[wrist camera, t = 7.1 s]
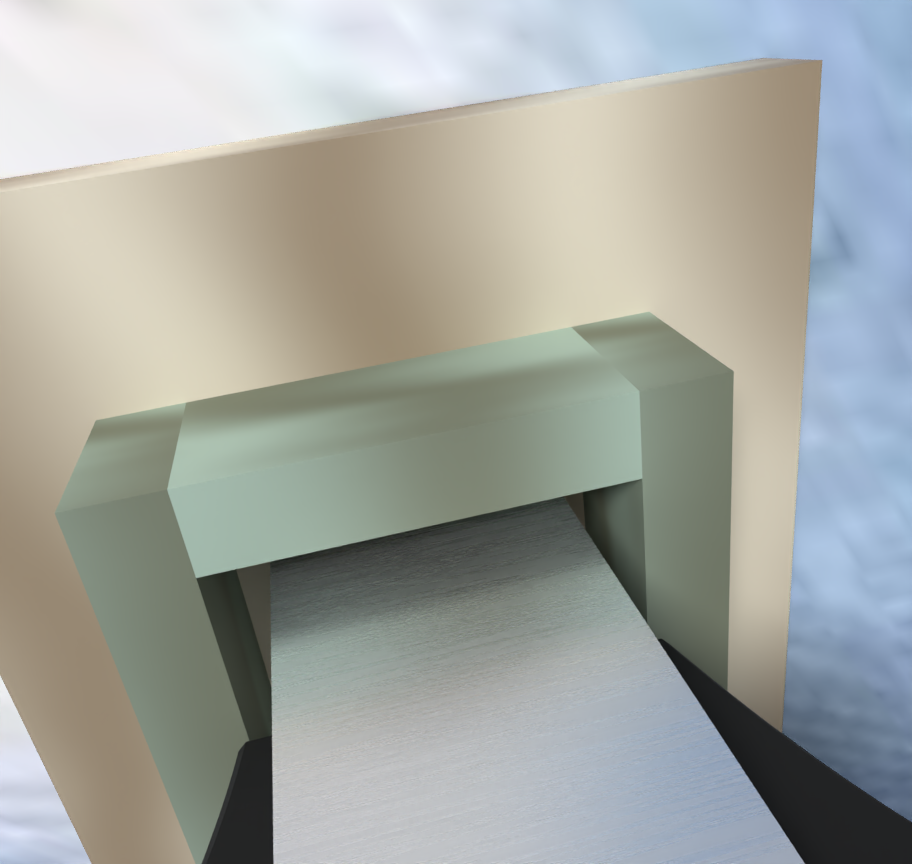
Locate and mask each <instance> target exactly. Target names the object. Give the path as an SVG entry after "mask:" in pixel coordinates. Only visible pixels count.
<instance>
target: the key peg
mask: <svg viewBox="0 0 912 864" xmlns="http://www.w3.org/2000/svg"><path fill="white" fill-rule="evenodd" d="M270 593H271V681H272V770H273V858H274V864H805V863H804V862H803V860H802V859H801V857H800V856H799V854H798V853H797V851H796V850H795V848H794V846H793V845H792V843H791V842H790V840H789V839H788V837H787V836H786V834H785V833H784V831H783V830H782V828H781V827H780V825H779V824H778V822H777V821H776V819H775V818H774V816H773V815H772V813H771V812H770V810H769V808H768V807H767V805H766V804H765V802H764V801H763V799H762V798H761V796H760V795H759V793H758V792H757V790H756V789H755V787H754V786H753V784H752V783H751V781H750V780H749V778H748V777H747V775H746V774H745V772H744V770H743V769H742V767H741V766H740V764H739V763H738V761H737V760H736V758H735V757H734V755H733V754H732V752H731V751H730V749H729V748H728V746H727V745H726V743H725V742H724V740H723V739H722V737H721V735H720V734H719V732H718V731H717V729H716V728H715V726H714V725H713V723H712V722H711V720H710V719H709V717H708V716H707V714H706V713H705V711H704V710H703V708H702V707H701V705H700V704H699V702H698V701H697V699H696V697H695V696H694V694H693V693H692V691H691V690H690V688H689V687H688V685H687V684H686V682H685V681H684V679H683V678H682V676H681V675H680V673H679V672H678V670H677V669H676V667H675V666H674V664H673V663H672V661H671V659H670V658H669V656H668V655H667V653H666V652H665V650H664V649H663V647H662V646H661V644H660V643H659V641H658V640H657V638H656V637H655V635H654V634H653V632H652V631H651V629H650V628H649V626H648V625H647V623H646V621H645V620H644V618H643V617H642V615H641V614H640V612H639V611H638V609H637V608H636V606H635V605H634V603H633V602H632V600H631V599H630V597H629V596H628V594H627V593H626V591H625V590H624V588H623V586H622V585H621V583H620V582H619V580H618V579H617V577H616V576H615V574H614V573H613V571H612V570H611V568H610V567H609V565H608V564H607V562H606V561H605V559H604V558H603V556H602V555H601V553H600V552H599V550H598V548H597V547H596V545H595V544H594V542H593V541H592V539H591V538H590V536H589V535H588V533H587V532H586V530H585V529H584V527H583V526H582V524H581V523H580V521H579V520H578V518H577V517H576V515H575V514H574V512H573V510H572V509H571V507H570V506H569V504H568V503H567V501H566V500H565V498H564V497H563V496H562V497H558V498H553V499H549V500H544V501H540V502H535V503H531V504H526V505H522V506H517V507H513V508H509V509H504V510H500V511H495V512H491V513H486V514H482V515H477V516H473V517H468V518H464V519H459V520H455V521H450V522H446V523H441V524H437V525H432V526H428V527H423V528H419V529H414V530H410V531H405V532H401V533H396V534H392V535H387V536H383V537H378V538H374V539H369V540H365V541H360V542H356V543H351V544H347V545H342V546H338V547H334V548H329V549H325V550H320V551H316V552H311V553H307V554H302V555H298V556H293V557H289V558H284V559H280V560H275V561H271V562H270Z"/></svg>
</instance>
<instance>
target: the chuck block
mask: <svg viewBox="0 0 912 864" xmlns="http://www.w3.org/2000/svg"><path fill="white" fill-rule="evenodd" d="M821 72H822V60H801V59H772V58H761V59H755V60H749V61H743V62H736V63H730V64H724V65H717V66H711V67H705V68H698V69H692V70H686V71H680V72H673V73H667V74H661V75H654V76H648V77H642V78H636V79H629V80H623V81H617V82H610V83H604V84H598V85H591V86H585V87H579V88H573V89H566V90H560V91H554V92H547V93H541V94H535V95H529V96H522V97H516V98H510V99H503V100H497V101H491V102H485V103H478V104H472V105H466V106H459V107H453V108H447V109H440V110H434V111H428V112H422V113H415V114H409V115H403V116H396V117H390V118H384V119H378V120H371V121H365V122H359V123H352V124H346V125H340V126H334V127H327V128H321V129H315V130H308V131H302V132H296V133H289V134H283V135H277V136H271V137H264V138H258V139H252V140H245V141H239V142H233V143H227V144H220V145H214V146H208V147H201V148H195V149H189V150H183V151H176V152H170V153H164V154H157V155H151V156H145V157H138V158H132V159H126V160H120V161H113V162H107V163H101V164H94V165H88V166H82V167H76V168H69V169H63V170H57V171H50V172H44V173H38V174H31V175H25V176H19V177H13V178H6V179H0V675H1V678H2V680H3V682H4V684H5V686H6V688H7V690H8V692H9V694H10V696H11V698H12V700H13V702H14V704H15V706H16V708H17V711H18V713H19V715H20V717H21V719H22V721H23V723H24V725H25V727H26V729H27V731H28V733H29V735H30V737H31V739H32V741H33V744H34V746H35V748H36V750H37V752H38V754H39V756H40V758H41V760H42V762H43V764H44V766H45V768H46V770H47V772H48V774H49V777H50V779H51V781H52V783H53V785H54V787H55V789H56V791H57V793H58V795H59V797H60V799H61V801H62V803H63V805H64V807H65V810H66V812H67V814H68V816H69V818H70V820H71V822H72V824H73V826H74V828H75V830H76V832H77V834H78V836H79V838H80V840H81V843H82V845H83V847H84V849H85V851H86V853H87V855H88V857H89V859H90V861H91V863H92V864H201V863H202V861H203V858H204V856H205V853H206V851H207V848H208V845H209V842H210V839H211V837H212V834H213V831H214V828H215V825H216V823H217V820H218V817H219V814H220V811H221V808H222V805H223V802H224V799H225V796H226V793H227V789H228V786H229V783H230V780H231V776H232V773H233V770H234V766H235V762H236V759H237V755H238V751H239V750H240V749H241V747H242V746H243V745H244V744H245V742H247V741H251V740H255V739H259V738H263V737H267V736H271V735H272V681H271V593H270V562H271V561H275V560H280V559H284V558H289V557H293V556H298V555H302V554H307V553H311V552H316V551H320V550H325V549H329V548H334V547H338V546H342V545H347V544H351V543H356V542H360V541H365V540H369V539H374V538H378V537H383V536H387V535H392V534H396V533H401V532H405V531H410V530H414V529H419V528H423V527H428V526H432V525H437V524H441V523H446V522H450V521H455V520H459V519H464V518H468V517H473V516H477V515H482V514H486V513H491V512H495V511H500V510H504V509H509V508H513V507H517V506H522V505H526V504H531V503H535V502H540V501H544V500H549V499H553V498H558V497H562V496H563V497H564V498H565V500H566V501H567V503H568V504H569V506H570V507H571V509H572V510H573V512H574V514H575V515H576V517H577V518H578V520H579V521H580V523H581V524H582V526H583V527H584V529H585V530H586V532H587V533H588V535H589V536H590V538H591V539H592V541H593V542H594V544H595V545H596V547H597V548H598V550H599V552H600V553H601V555H602V556H603V558H604V559H605V561H606V562H607V564H608V565H609V567H610V568H611V570H612V571H613V573H614V574H615V576H616V577H617V579H618V580H619V582H620V583H621V585H622V586H623V588H624V590H625V591H626V593H627V594H628V596H629V597H630V599H631V600H632V602H633V603H634V605H635V606H636V608H637V609H638V611H639V612H640V614H641V615H642V617H643V618H644V620H645V621H646V623H647V625H648V626H649V628H650V629H651V631H652V632H653V634H654V635H655V637H656V638H657V639H663V640H664V641H666V642H667V643H669V644H670V645H672V646H673V647H674V648H675V649H676V650H678V651H679V652H680V653H681V654H682V655H684V656H685V657H686V658H687V659H689V660H690V661H691V662H692V663H693V664H695V665H696V666H697V667H698V668H700V669H701V670H702V671H703V672H704V673H706V674H707V675H708V676H709V677H711V678H712V679H713V680H714V681H715V682H717V683H718V684H719V685H720V686H722V687H723V688H724V689H725V690H727V691H728V692H729V693H730V694H732V695H733V696H734V697H736V698H737V699H738V700H739V701H741V702H742V703H743V704H744V705H746V706H747V707H748V708H749V709H751V710H752V711H753V712H755V713H756V714H757V715H759V716H760V717H761V718H762V719H764V720H765V721H766V722H768V723H769V724H770V725H772V726H773V727H774V728H776V729H777V730H778V731H780V732H781V733H782V725H783V708H784V691H785V674H786V658H787V641H788V624H789V607H790V591H791V574H792V557H793V540H794V524H795V507H796V490H797V473H798V457H799V440H800V423H801V407H802V390H803V373H804V356H805V340H806V323H807V306H808V289H809V273H810V256H811V239H812V222H813V206H814V189H815V172H816V155H817V139H818V122H819V105H820V88H821Z"/></svg>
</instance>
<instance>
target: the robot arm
mask: <svg viewBox="0 0 912 864" xmlns="http://www.w3.org/2000/svg"><path fill="white" fill-rule="evenodd" d="M657 640H658V641H659V643H660V644H661V646H662V647H663V649H664V650H665V652H666V653H667V655H668V656H669V658H670V659H671V661H672V663H673V664H674V666H675V667H676V669H677V670H678V672H679V673H680V675H681V676H682V678H683V679H684V681H685V682H686V684H687V685H688V687H689V688H690V690H691V691H692V693H693V694H694V696H695V697H696V699H697V701H698V702H699V704H700V705H701V707H702V708H703V710H704V711H705V713H706V714H707V716H708V717H709V719H710V720H711V722H712V723H713V725H714V726H715V728H716V729H717V731H718V732H719V734H720V735H721V737H722V739H723V740H724V742H725V743H726V745H727V746H728V748H729V749H730V751H731V752H732V754H733V755H734V757H735V758H736V760H737V761H738V763H739V764H740V766H741V767H742V769H743V770H744V772H745V774H746V775H747V777H748V778H749V780H750V781H751V783H752V784H753V786H754V787H755V789H756V790H757V792H758V793H759V795H760V796H761V798H762V799H763V801H764V802H765V804H766V805H767V807H768V808H769V810H770V812H771V813H772V815H773V816H774V818H775V819H776V821H777V822H778V824H779V825H780V827H781V828H782V830H783V831H784V833H785V834H786V836H787V837H788V839H789V840H790V842H791V843H792V845H793V846H794V848H795V850H796V851H797V853H798V854H799V856H800V857H801V859H802V860H803V862H804V863H805V864H912V822H910V821H909V820H907V819H906V818H904V817H903V816H901V815H899V814H898V813H896V812H895V811H893V810H892V809H890V808H888V807H887V806H885V805H884V804H882V803H881V802H879V801H878V800H876V799H875V798H873V797H872V796H870V795H869V794H867V793H866V792H864V791H863V790H861V789H860V788H858V787H857V786H855V785H854V784H852V783H851V782H849V781H848V780H846V779H845V778H844V777H842V776H841V775H839V774H838V773H836V772H835V771H834V770H832V769H831V768H829V767H828V766H826V765H825V764H824V763H822V762H821V761H819V760H818V759H816V758H815V757H814V756H812V755H811V754H810V753H808V752H807V751H806V750H804V749H803V748H802V747H800V746H799V745H797V744H796V743H795V742H793V741H792V740H791V739H789V738H788V737H787V736H785V735H784V734H783V733H781V732H780V731H778V730H777V729H776V728H774V727H773V726H772V725H770V724H769V723H768V722H766V721H765V720H764V719H762V718H761V717H760V716H759V715H757V714H756V713H755V712H753V711H752V710H751V709H749V708H748V707H747V706H746V705H744V704H743V703H742V702H741V701H739V700H738V699H737V698H736V697H734V696H733V695H732V694H730V693H729V692H728V691H727V690H725V689H724V688H723V687H722V686H720V685H719V684H718V683H717V682H715V681H714V680H713V679H712V678H711V677H709V676H708V675H707V674H706V673H704V672H703V671H702V670H701V669H700V668H698V667H697V666H696V665H695V664H693V663H692V662H691V661H690V660H689V659H687V658H686V657H685V656H684V655H682V654H681V653H680V652H679V651H678V650H676V649H675V648H674V647H673V646H672V645H670V644H669V643H667V642H666V641H664V640H663V639H657ZM201 864H274V858H273V770H272V735H271V736H267V737H263V738H259V739H255V740H251V741H247V742H245V744H244V745H243V746H242V747H241V749H240V750H239V751H238V755H237V759H236V762H235V766H234V770H233V773H232V776H231V780H230V783H229V786H228V789H227V793H226V796H225V799H224V802H223V805H222V808H221V811H220V814H219V817H218V820H217V823H216V825H215V828H214V831H213V834H212V837H211V839H210V842H209V845H208V848H207V851H206V853H205V856H204V858H203V861H202V863H201Z"/></svg>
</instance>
